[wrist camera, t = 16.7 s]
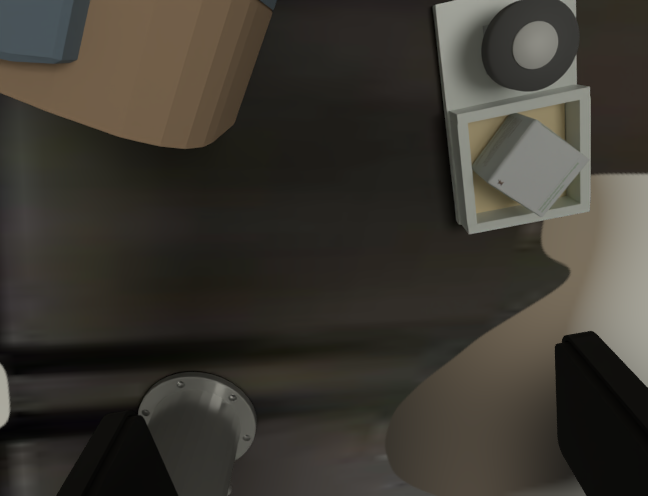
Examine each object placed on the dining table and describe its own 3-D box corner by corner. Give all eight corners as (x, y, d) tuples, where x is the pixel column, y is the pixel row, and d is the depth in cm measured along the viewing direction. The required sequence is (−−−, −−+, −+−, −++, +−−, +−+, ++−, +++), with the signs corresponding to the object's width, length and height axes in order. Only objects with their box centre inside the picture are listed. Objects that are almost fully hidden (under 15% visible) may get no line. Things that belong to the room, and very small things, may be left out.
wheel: (551, 77, 38) (581, 81, 34) (475, 94, 38) (494, 100, 34) (549, -7, 36) (580, -14, 31) (468, 12, 36) (487, 7, 32)
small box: (519, 201, 42) (542, 220, 38) (467, 167, 41) (485, 182, 37) (564, 146, 41) (594, 158, 36) (511, 109, 39) (535, 117, 35)
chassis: (572, 198, 43) (592, 210, 40) (456, 221, 44) (466, 234, 41) (569, -26, 37) (593, -33, 33) (432, 6, 38) (442, 2, 34)
